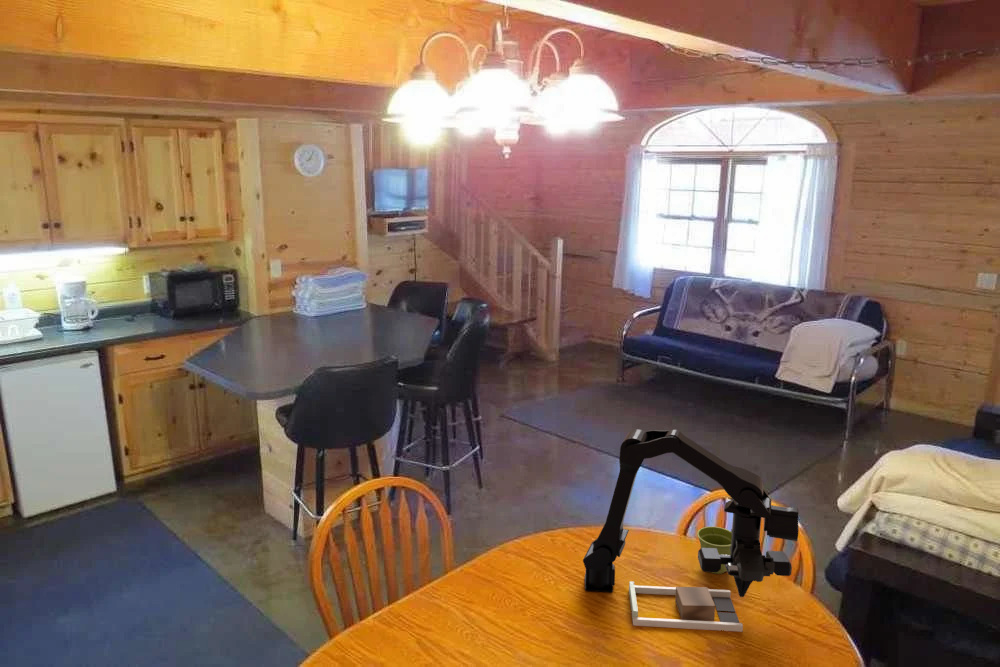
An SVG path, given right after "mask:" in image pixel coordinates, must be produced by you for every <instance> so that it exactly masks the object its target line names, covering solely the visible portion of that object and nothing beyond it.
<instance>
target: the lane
mask: <svg viewBox="0 0 1000 667" xmlns="http://www.w3.org/2000/svg"><path fill="white" fill-rule="evenodd" d="M628 583H629V584H628V594H629V595H630V596H629V602H630V603H629V604H630V610H631V611H632V612H631V618H632V619H631V620H632V626H638V627H651V628H652V627H653V628H654V627H656V628H673V629H689V630H704V631H705V630H707V631H721V630H722V631H723V630H724V631H723V632H741V633H742V632H743V629H744V628H743V627H744V625H743V622H739V623H730V622H720V621H694V620H682V619H675V618H674V619H673V618H659V617H658V618H655V617H641V616H640V617H639V609H638V603H637V595H636V594H643V595H644V594H646V595H647V594H648V595H666V596H667V595H668V596H676V587H677V586H676V587H675V586H674V587H673V586H672V587H671V586H659V585H658V586H654V585H640V584H639V585H637V584H635V581H629V582H628ZM708 590H709V593H710V595H711V597H712V598H713V597H726V598H731V595H732V594H731V593H732V592H731V590H730V589H715V588H713V589H712V588H711V589H710V588H708Z"/></svg>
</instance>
